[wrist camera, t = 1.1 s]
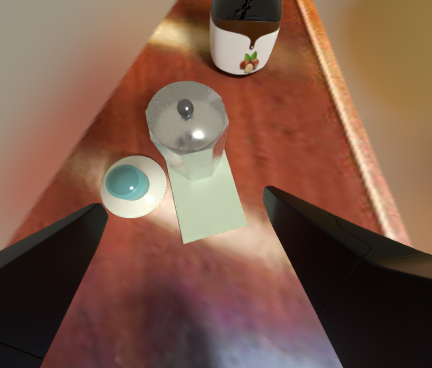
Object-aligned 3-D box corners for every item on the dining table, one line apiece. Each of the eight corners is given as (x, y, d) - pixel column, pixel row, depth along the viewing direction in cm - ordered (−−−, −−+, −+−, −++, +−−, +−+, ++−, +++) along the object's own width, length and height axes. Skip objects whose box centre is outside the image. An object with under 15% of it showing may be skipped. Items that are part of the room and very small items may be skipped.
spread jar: (210, 79, 27) (210, -22, 16) (209, 31, 29) (209, -86, 18) (276, 80, 27) (323, -17, 16) (270, 33, 30) (307, -79, 19)
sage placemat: (246, 225, 21) (247, 225, 21) (183, 243, 21) (183, 243, 20) (218, 132, 25) (218, 131, 24) (162, 144, 24) (162, 143, 23)
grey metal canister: (225, 173, 23) (239, 131, 12) (178, 185, 22) (146, 152, 11) (212, 132, 24) (215, 60, 13) (168, 142, 24) (132, 74, 12)
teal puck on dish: (172, 208, 22) (166, 206, 18) (107, 225, 21) (89, 226, 18) (160, 151, 23) (153, 141, 20) (100, 164, 23) (82, 156, 19)
